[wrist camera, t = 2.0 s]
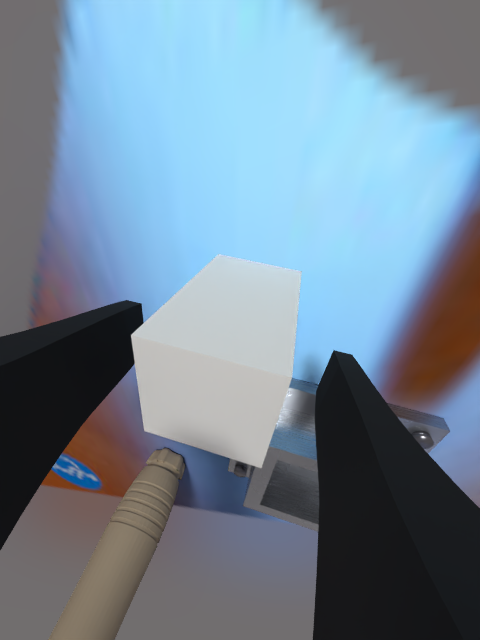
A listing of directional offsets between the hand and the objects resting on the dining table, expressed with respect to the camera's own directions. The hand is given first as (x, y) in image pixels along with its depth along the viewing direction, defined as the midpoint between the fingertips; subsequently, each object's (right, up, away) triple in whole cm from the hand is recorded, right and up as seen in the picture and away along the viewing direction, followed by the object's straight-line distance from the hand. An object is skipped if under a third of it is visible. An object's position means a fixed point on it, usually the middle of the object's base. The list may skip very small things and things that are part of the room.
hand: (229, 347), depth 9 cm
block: (+1, +2, +3) cm, 4 cm away
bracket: (+6, -8, +8) cm, 12 cm away
